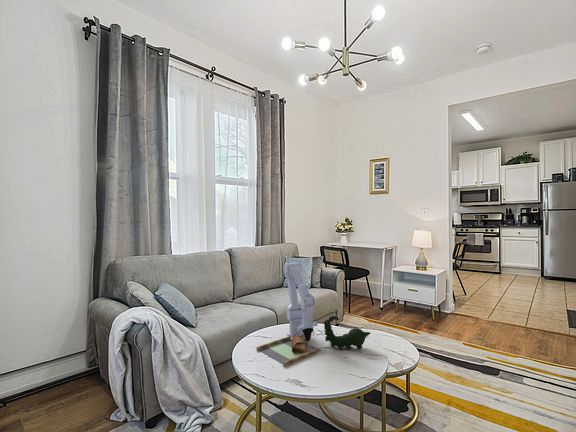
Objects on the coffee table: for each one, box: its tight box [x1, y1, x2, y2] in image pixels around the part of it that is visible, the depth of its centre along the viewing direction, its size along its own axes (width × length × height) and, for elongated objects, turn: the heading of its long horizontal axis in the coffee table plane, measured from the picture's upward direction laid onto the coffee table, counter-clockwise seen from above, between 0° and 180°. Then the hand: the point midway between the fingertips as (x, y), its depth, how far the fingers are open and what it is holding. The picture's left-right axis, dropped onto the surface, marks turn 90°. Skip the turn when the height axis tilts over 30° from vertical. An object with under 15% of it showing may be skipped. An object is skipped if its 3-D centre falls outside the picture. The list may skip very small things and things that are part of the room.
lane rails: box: [256, 335, 320, 367], centre depth 175 cm, size 24×24×2 cm
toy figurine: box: [323, 315, 371, 351], centre depth 179 cm, size 9×19×25 cm
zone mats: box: [258, 338, 322, 365], centre depth 176 cm, size 26×22×1 cm
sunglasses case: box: [291, 334, 307, 354], centre depth 181 cm, size 18×7×7 cm
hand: (307, 340), depth 184 cm, fingers closed
